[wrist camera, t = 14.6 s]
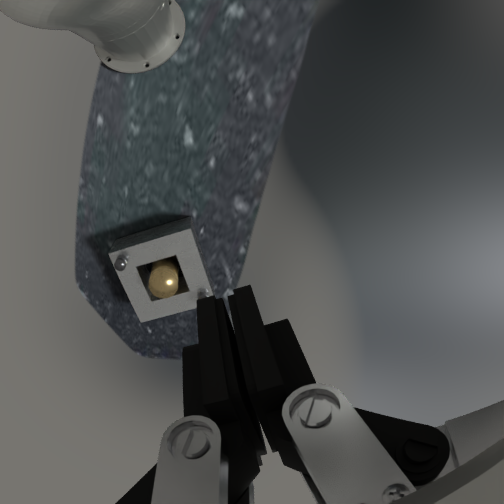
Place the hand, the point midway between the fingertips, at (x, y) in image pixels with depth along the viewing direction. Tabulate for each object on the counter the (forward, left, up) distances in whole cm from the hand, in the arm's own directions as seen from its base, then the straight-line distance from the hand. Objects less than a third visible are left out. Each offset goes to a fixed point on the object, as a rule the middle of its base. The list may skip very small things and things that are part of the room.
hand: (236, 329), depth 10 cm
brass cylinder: (+14, -10, -37) cm, 41 cm away
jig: (+14, -10, -37) cm, 41 cm away
